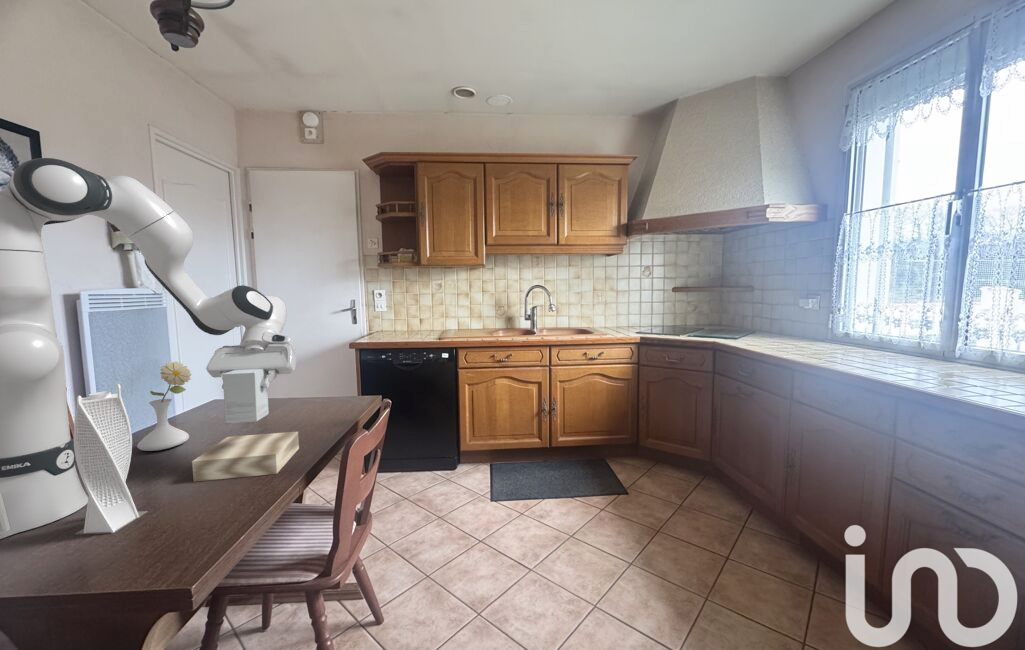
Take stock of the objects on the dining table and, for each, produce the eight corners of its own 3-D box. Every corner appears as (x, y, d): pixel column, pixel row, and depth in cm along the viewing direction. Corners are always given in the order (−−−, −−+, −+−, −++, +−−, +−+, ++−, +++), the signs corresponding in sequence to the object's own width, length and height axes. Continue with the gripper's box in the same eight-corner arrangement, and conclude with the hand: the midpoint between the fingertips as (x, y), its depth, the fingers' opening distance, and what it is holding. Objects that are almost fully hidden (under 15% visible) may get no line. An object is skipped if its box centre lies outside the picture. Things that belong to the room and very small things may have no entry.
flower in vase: (145, 458, 104) (137, 368, 102) (131, 449, 110) (123, 364, 108) (203, 442, 115) (196, 360, 113) (187, 435, 121) (181, 357, 119)
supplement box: (269, 413, 103) (267, 367, 102) (256, 422, 96) (254, 372, 95) (239, 415, 102) (237, 368, 101) (223, 423, 94) (221, 373, 94)
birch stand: (193, 481, 91) (192, 461, 90) (228, 454, 106) (227, 436, 106) (276, 473, 94) (275, 454, 94) (299, 448, 110) (298, 431, 110)
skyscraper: (155, 512, 78) (143, 379, 76) (115, 538, 70) (101, 389, 68) (112, 514, 78) (99, 380, 76) (68, 539, 70) (51, 390, 68)
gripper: (212, 339, 102) (192, 383, 93) (295, 336, 106) (284, 379, 97) (222, 353, 107) (205, 396, 98) (302, 350, 111) (291, 391, 102)
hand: (245, 387), depth 98 cm, fingers closed on supplement box, 7 cm apart
